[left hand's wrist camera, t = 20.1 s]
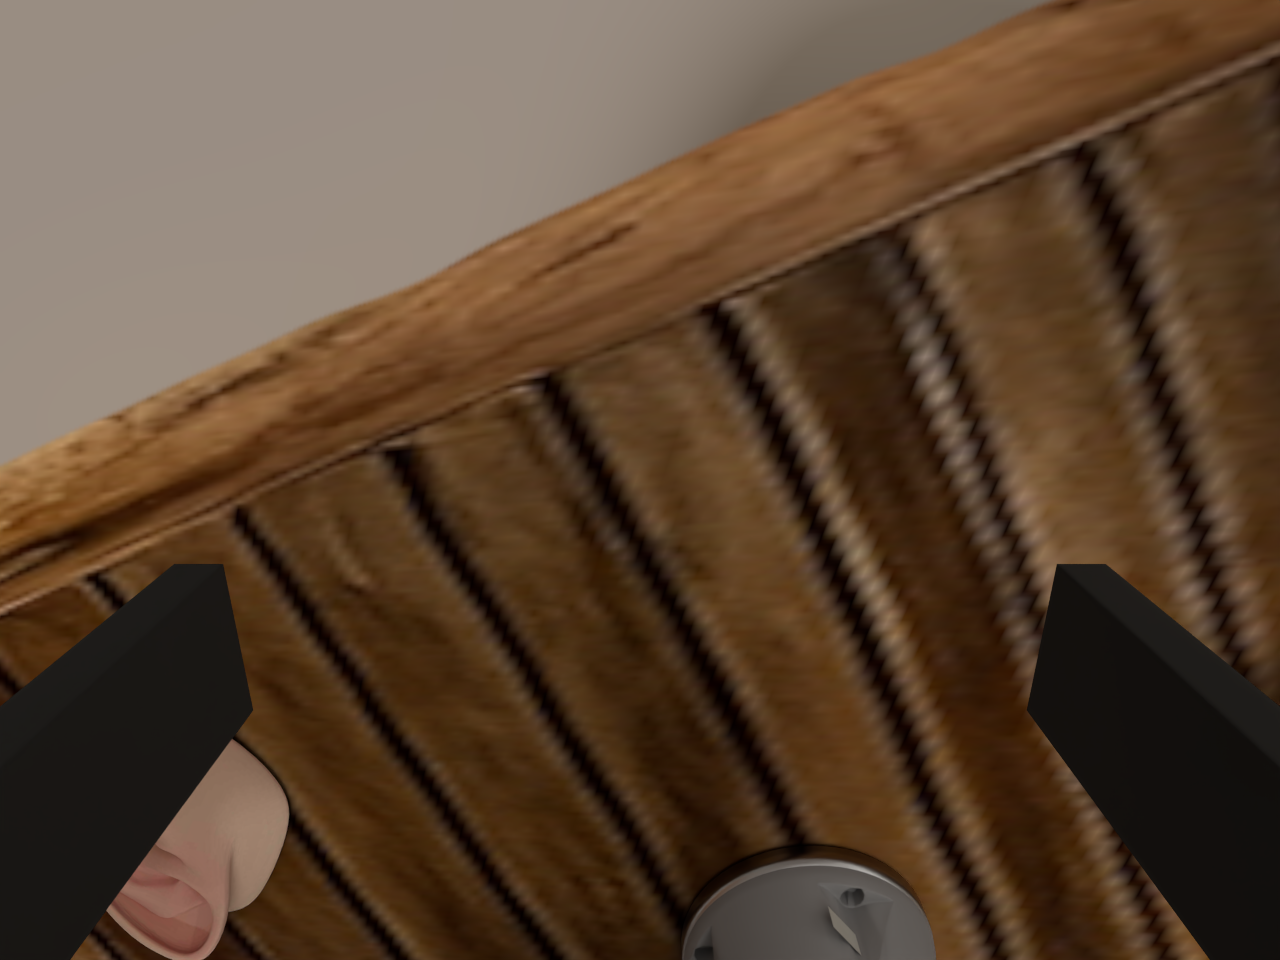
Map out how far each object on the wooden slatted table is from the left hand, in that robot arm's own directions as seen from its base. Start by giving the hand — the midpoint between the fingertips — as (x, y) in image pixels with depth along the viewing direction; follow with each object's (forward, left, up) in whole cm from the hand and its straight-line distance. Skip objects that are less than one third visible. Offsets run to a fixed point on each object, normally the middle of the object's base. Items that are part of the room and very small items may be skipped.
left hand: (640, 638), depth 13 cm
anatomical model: (-12, +36, -25) cm, 46 cm away
